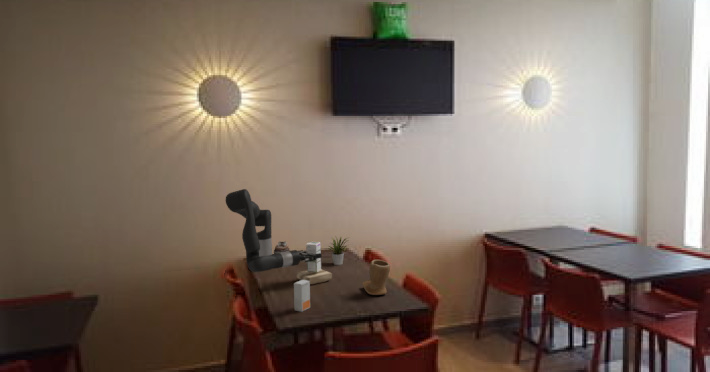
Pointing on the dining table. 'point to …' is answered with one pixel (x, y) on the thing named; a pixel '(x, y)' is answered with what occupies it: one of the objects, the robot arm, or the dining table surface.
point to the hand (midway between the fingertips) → (316, 253)
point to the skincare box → (302, 295)
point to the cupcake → (281, 247)
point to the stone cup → (377, 277)
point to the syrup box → (312, 249)
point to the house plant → (338, 251)
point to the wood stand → (314, 276)
